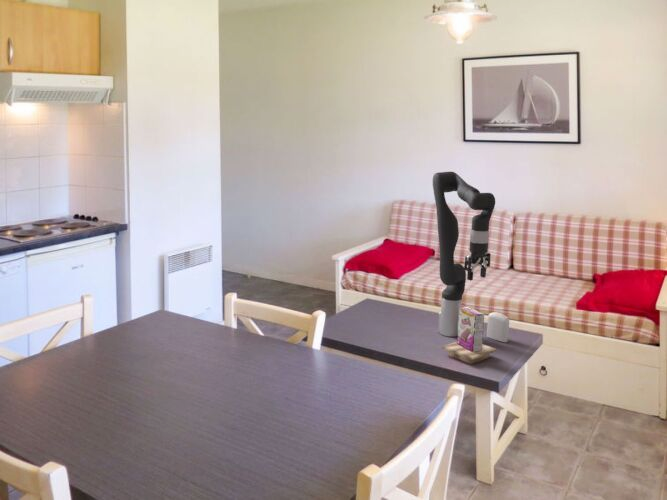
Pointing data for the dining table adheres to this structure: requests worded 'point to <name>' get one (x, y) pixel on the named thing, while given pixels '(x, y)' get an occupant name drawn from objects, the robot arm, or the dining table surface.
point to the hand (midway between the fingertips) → (476, 278)
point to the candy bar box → (470, 329)
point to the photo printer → (498, 327)
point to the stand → (468, 353)
